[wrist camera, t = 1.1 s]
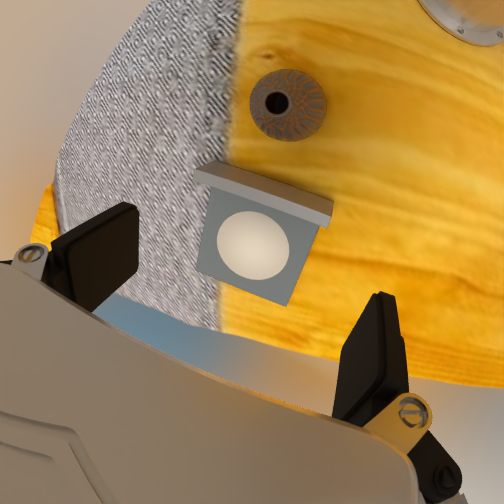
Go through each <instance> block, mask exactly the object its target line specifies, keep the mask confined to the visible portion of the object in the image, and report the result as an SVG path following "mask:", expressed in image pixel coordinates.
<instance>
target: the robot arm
mask: <svg viewBox="0 0 504 504" xmlns="http://www.w3.org/2000/svg"><path fill="white" fill-rule="evenodd" d="M418 1H419V3H420V4H421V6H422V7H423V9H424V10H425V11H426V12H427V13H428V15H429V16H430V17H431V18H432V19H433V20H434V21H435V22H436V23H437V24H438V25H439V26H441V27H442V28H443V29H444V30H446V31H447V32H448V33H450V34H451V35H453V36H455V37H456V38H458V39H460V40H462V41H465V42H467V43H469V44H473V45H476V46H485V47H487V46H494V45H496V44H499V43H501V42H503V41H504V0H418ZM457 30H458V31H459V32H458V31H457ZM51 247H52V251H50V252H49V251H48V248H47V247H46V246H45V245H43V244H40V243H33V244H29V245H25V246H24V247H22V248H20V249H19V250H18V251H17V252H16V254H15V256H14V258H13V260H9V261H0V504H468V503H467V500H466V498H465V495H464V493H463V494H461V495H460V494H459V489H460V488H461V484H462V474H461V470H460V468H459V466H458V465H457V464H456V462H455V461H454V460H453V459H452V458H451V457H450V455H449V454H448V453H447V452H446V451H445V449H444V448H443V447H442V446H441V444H440V443H439V442H438V441H437V440H436V438H435V437H434V436H433V435H432V434H431V433H430V431H429V430H428V429H429V427H430V426H431V424H432V412H431V409H430V407H429V405H428V404H427V402H426V401H425V400H424V399H423V398H421V397H420V396H418V395H416V394H414V393H409V385H408V384H409V383H408V371H407V361H406V352H405V343H404V339H403V337H402V336H401V334H400V326H399V319H398V312H397V306H396V299H395V296H393V295H390V294H387V293H385V292H382V291H380V292H379V293H378V294H375V293H374V294H373V295H372V296H371V298H370V300H369V302H368V303H367V305H366V307H365V309H364V311H363V312H362V314H361V316H360V318H359V319H358V321H357V323H356V325H355V326H354V328H353V330H352V331H351V333H350V335H349V336H348V338H347V340H346V341H345V343H344V345H343V347H342V350H341V355H340V363H339V372H338V379H337V387H336V393H335V400H334V406H333V412H332V417H330V416H327V415H323V414H320V413H317V412H314V411H311V410H307V409H304V408H301V407H298V406H295V405H292V404H289V403H286V402H284V401H281V400H278V399H275V398H272V397H269V396H267V395H264V394H261V393H258V392H255V391H253V390H250V389H248V388H245V387H242V386H240V385H237V384H235V383H232V382H229V381H227V380H225V379H222V378H220V377H217V376H215V375H213V374H210V373H208V372H206V371H203V370H201V369H199V368H197V367H195V366H192V365H190V364H188V363H186V362H183V361H181V360H179V359H177V358H175V357H173V356H171V355H169V354H167V353H164V352H162V351H160V350H158V349H156V348H154V347H152V346H150V345H148V344H147V343H144V342H143V341H140V340H139V339H137V338H135V337H133V336H131V335H129V334H127V333H126V332H124V331H122V330H120V329H118V328H117V327H115V326H113V325H111V324H109V323H108V322H106V321H104V320H102V319H101V318H99V317H97V316H96V315H94V314H92V312H93V311H94V310H95V309H96V308H97V307H98V306H99V305H100V304H101V303H102V302H103V301H104V300H106V299H107V298H108V297H109V296H110V295H111V294H112V293H114V292H115V291H116V290H117V289H118V288H119V287H120V286H121V285H123V284H124V283H125V282H126V281H127V280H128V279H129V278H130V277H132V276H133V275H134V274H135V273H136V272H137V270H138V266H139V211H138V210H137V207H136V206H135V205H133V204H130V203H127V202H121V203H119V204H117V205H115V206H113V207H111V208H109V209H108V210H106V211H104V212H102V213H100V214H98V215H96V216H95V217H93V218H91V219H89V220H88V221H86V222H84V223H82V224H80V225H79V226H77V227H75V228H74V229H72V230H70V231H68V232H67V233H65V234H63V235H62V236H60V237H58V238H57V239H55V240H54V241H52V242H51Z"/></svg>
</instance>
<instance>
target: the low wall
mask: <svg viewBox="0 0 504 504" xmlns="http://www.w3.org/2000/svg"><path fill="white" fill-rule="evenodd" d="M193 180H194V181H197V182H200V183H203V184H206V185H209V186H212V187H215V188H218V189H221V190H224V191H227V192H230V193H232V194H235V195H238V196H241V197H244V198H247V199H250V200H253V201H255V202H258V203H261V204H264V205H267V206H269V207H272V208H275V209H278V210H280V211H283V212H286V213H288V214H291V215H294V216H296V217H299V218H302V219H304V220H307V221H310V222H312V223H315V224H317V225H320V226H323V227H325V228H327V227H328V225H329V222H330V220H331V217H332V211H333V203H334V202H333V201H330V200H328V199H325V198H323V197H320V196H317V195H315V194H312V193H309V192H307V191H304V190H301V189H298V188H296V187H293V186H290V185H287V184H285V183H282V182H279V181H276V180H273V179H270V178H267V177H264V176H261V175H258V174H255V173H252V172H249V171H246V170H243V169H240V168H237V167H234V166H231V165H227V164H224V163H221V162H218V161H213V162H210V163H208V164H205V165H203V166H201V167H198V168H196V169H195V170H194V175H193Z"/></svg>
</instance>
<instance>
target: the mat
mask: <svg viewBox="0 0 504 504" xmlns="http://www.w3.org/2000/svg"><path fill="white" fill-rule="evenodd" d="M319 226H320V225H317V224H315V223H312V222H310V221H307V220H304V219H302V218H299V217H296V216H294V215H291V214H288V213H286V212H283V211H280V210H278V209H275V208H272V207H269V206H267V205H264V204H261V203H258V202H255V201H253V200H250V199H247V198H244V197H241V196H238V195H235V194H232V193H230V192H227V191H224V190H221V189H218V188H215V187H212V189H211V194H210V198H209V203H208V208H207V213H206V218H205V223H204V228H203V233H202V238H201V243H200V249H199V254H198V259H197V265H196V271H198V272H201V273H203V274H206V275H208V276H210V277H213V278H215V279H218V280H220V281H222V282H225V283H227V284H230V285H232V286H235V287H237V288H240V289H242V290H244V291H247V292H249V293H252V294H254V295H257V296H259V297H262V298H265V299H267V300H270V301H272V302H275V303H277V304H280V305H282V306H285V307H286V306H287V303H288V301H289V299H290V297H291V294H292V292H293V290H294V287H295V285H296V283H297V280H298V278H299V275H300V273H301V271H302V268H303V266H304V263H305V261H306V259H307V256H308V254H309V251H310V249H311V246H312V244H313V241H314V239H315V236H316V234H317V231H318V229H319Z"/></svg>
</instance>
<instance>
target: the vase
mask: <svg viewBox="0 0 504 504" xmlns="http://www.w3.org/2000/svg"><path fill="white" fill-rule="evenodd" d="M326 110H327V104H326V98H325V95H324V92H323V90H322V88H321V87H320V86H319V84H318V83H317V82H316V81H315V80H314V79H313V78H312V77H310V76H309V75H307V74H305V73H303V72H300V71H297V70H291V69H283V70H277V71H274V72H271V73H269V74H267V75H266V76H264V77H263V78H262V79H260V80H259V81H258V83H257V84H256V85H255V87H254V88H253V90H252V93H251V96H250V112H251V115H252V118H253V120H254V122H255V124H256V125H257V126H258V128H259V129H260V130H261V131H262V132H264V133H265V134H266V135H268V136H270V137H272V138H274V139H277V140H280V141H288V142H291V141H298V140H302V139H305V138H307V137H309V136H310V135H312V134H313V133H315V132H316V131H317V130H318V129H319V127H320V126H321V124H322V123H323V121H324V118H325V115H326Z"/></svg>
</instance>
